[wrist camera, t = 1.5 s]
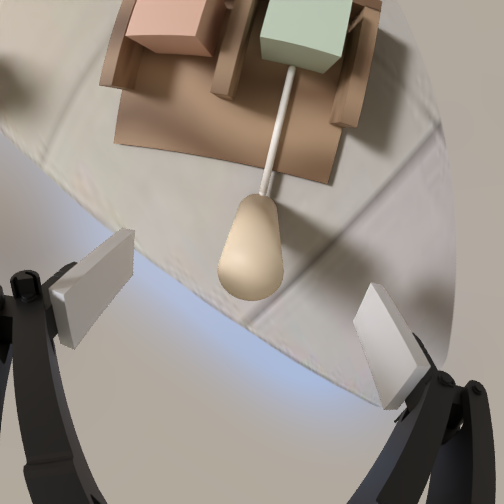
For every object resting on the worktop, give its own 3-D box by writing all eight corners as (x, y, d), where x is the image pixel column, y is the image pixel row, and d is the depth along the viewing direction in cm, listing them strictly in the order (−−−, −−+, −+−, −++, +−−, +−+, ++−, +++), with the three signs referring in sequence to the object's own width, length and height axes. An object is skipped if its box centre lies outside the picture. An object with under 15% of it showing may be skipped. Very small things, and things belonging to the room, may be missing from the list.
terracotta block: (170, 5, 17) (145, -22, 11) (226, 7, 17) (214, -24, 11) (156, 53, 19) (125, 35, 13) (212, 57, 19) (195, 36, 13)
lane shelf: (154, -12, 16) (135, -32, 12) (364, 19, 17) (381, 1, 13) (116, 142, 23) (89, 147, 18) (326, 182, 23) (338, 195, 19)
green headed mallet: (274, 12, 17) (278, -57, 7) (332, 27, 18) (373, -31, 8) (225, 224, 25) (198, 290, 15) (280, 236, 26) (288, 309, 16)
